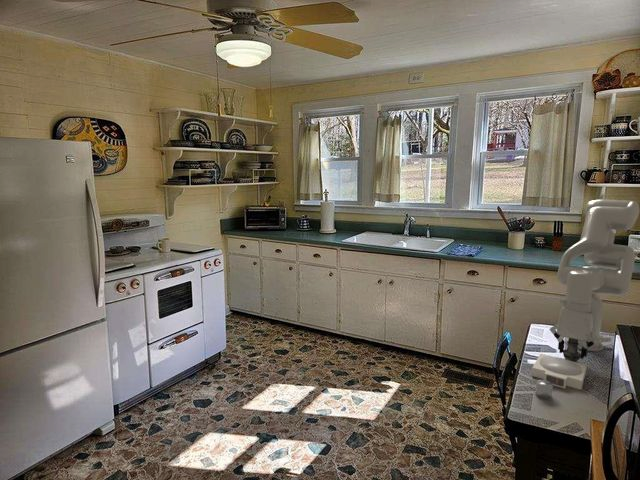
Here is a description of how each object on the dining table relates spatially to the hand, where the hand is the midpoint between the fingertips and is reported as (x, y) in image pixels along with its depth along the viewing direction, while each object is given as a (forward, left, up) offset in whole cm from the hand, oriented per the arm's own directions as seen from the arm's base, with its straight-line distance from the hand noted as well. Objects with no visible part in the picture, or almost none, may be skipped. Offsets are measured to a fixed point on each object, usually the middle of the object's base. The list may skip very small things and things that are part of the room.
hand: (571, 354), depth 144 cm
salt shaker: (0, 0, -3) cm, 3 cm away
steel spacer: (+23, +22, -3) cm, 32 cm away
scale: (+11, +10, -3) cm, 15 cm away
